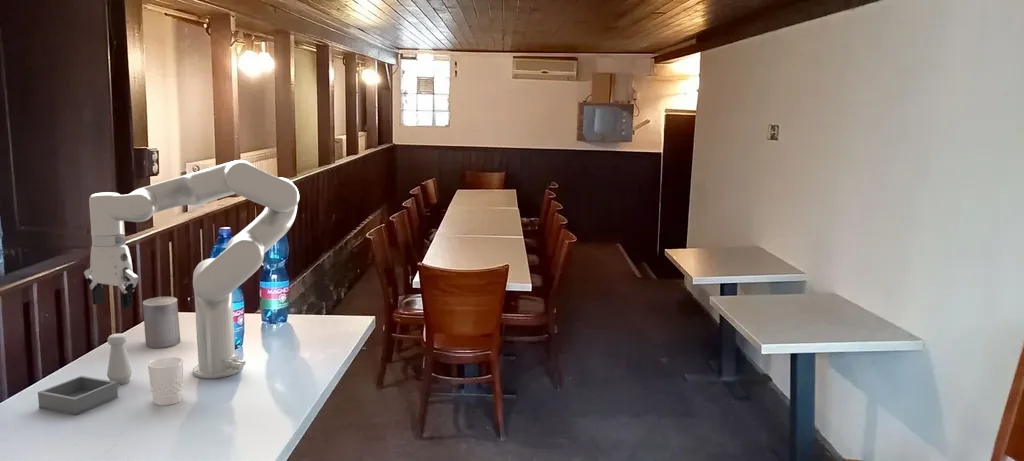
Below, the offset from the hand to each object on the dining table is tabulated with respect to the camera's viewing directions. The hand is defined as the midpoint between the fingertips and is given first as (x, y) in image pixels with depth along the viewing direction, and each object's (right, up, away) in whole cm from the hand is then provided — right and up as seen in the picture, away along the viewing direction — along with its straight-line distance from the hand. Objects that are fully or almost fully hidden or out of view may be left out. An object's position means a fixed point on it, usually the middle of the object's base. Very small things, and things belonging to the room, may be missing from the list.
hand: (113, 305), depth 194 cm
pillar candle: (-4, -16, +35) cm, 39 cm away
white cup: (+18, -23, -8) cm, 30 cm away
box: (-3, -23, -10) cm, 25 cm away
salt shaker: (0, -21, +4) cm, 21 cm away
